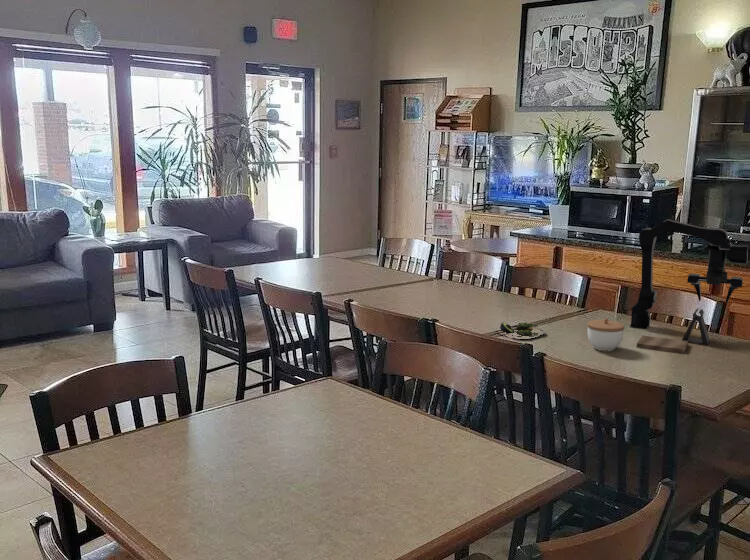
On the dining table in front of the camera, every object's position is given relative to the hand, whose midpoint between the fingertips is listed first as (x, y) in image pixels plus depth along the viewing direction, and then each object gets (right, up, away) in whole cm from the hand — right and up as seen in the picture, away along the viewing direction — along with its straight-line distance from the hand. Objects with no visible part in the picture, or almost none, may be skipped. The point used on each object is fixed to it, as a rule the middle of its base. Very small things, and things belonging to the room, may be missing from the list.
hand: (712, 302), depth 270 cm
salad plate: (-73, -13, +5) cm, 74 cm away
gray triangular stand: (-9, -15, -5) cm, 18 cm away
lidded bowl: (-46, -16, -14) cm, 51 cm away
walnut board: (-24, -16, -12) cm, 31 cm away
